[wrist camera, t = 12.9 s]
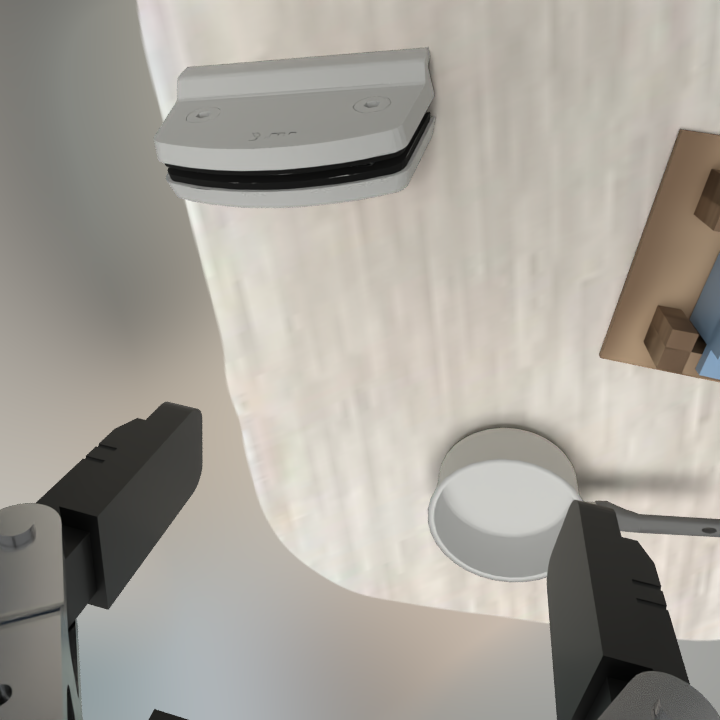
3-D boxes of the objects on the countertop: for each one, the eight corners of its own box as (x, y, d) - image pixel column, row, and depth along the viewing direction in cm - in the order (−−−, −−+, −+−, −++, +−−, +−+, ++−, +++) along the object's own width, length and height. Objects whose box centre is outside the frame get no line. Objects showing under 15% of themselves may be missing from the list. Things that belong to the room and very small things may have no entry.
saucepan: (695, 538, 47) (717, 594, 42) (441, 529, 52) (435, 578, 47) (709, 414, 42) (736, 460, 37) (428, 417, 47) (419, 458, 42)
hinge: (435, 46, 35) (415, 121, 29) (438, 124, 39) (421, 207, 32) (181, 67, 39) (111, 138, 32) (204, 136, 42) (145, 213, 36)
